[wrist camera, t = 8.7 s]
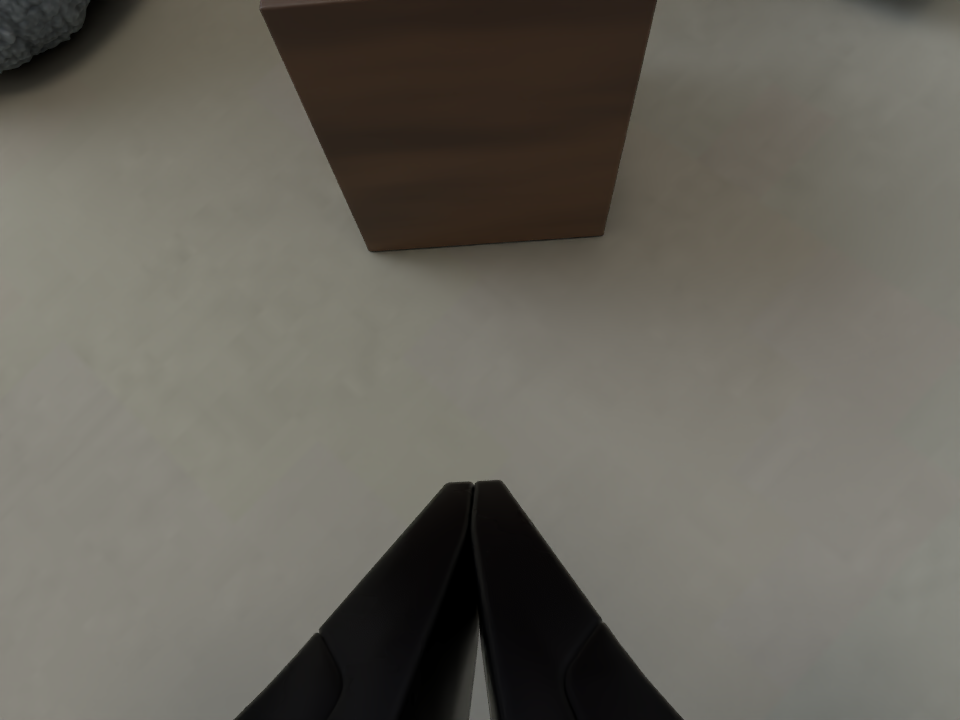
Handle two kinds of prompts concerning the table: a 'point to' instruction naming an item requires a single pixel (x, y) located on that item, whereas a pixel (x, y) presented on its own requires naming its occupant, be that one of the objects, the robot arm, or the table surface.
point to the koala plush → (36, 27)
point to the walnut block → (467, 111)
